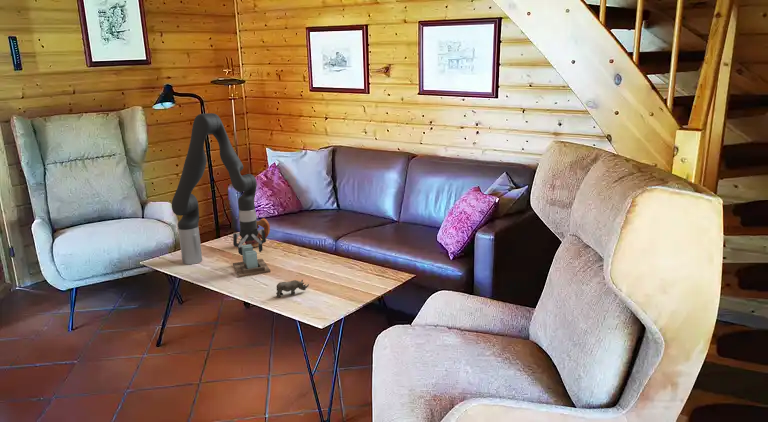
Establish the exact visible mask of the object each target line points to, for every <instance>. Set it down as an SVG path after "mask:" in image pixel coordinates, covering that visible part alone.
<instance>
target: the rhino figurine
mask: <svg viewBox="0 0 768 422" xmlns="http://www.w3.org/2000/svg"><path fill="white" fill-rule="evenodd" d="M303 281H304V279H301V281H299V280H296V279H294V280H291V281H281V282H278V283H277V284H276V293H275V294H276V296H275V297H276V298H281V296H283V295H284V292H286V293H287V292H290V295H291V296H292V297H293V296H295V294H296V291H297V289H299V290H301V291H306V289H307V288H309V285H310V284H305V282H303ZM283 291H284V292H283Z"/></svg>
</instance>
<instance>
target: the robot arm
mask: <svg viewBox="0 0 768 422" xmlns="http://www.w3.org/2000/svg"><path fill="white" fill-rule="evenodd" d="M208 135H213V137H214V138H215V140H216V142H217V143H218V148H219V157H220V160H221V162H222V163H223V164H222V165H224V167H225V168H226V170H227V172H228V175H229V176H228V177H229V179H230V182H231V183H230V184H231V185H232V188H233V189H234V190H235V191H237V192H239V193H242V195H240V196H239V198H238V199H237V200H238V201H237V205H238V221H239V232H233V233H232V244H233V246H234V247H235V248H236V247H237V250H238V254H239V255H240V256H242V247H241V246H243V244H245V241H246V242H247V241H253V240H256V241H257V242H258V243H259V244H258V246H257V247H258V252H259V253H262V251H263V244H265V243H267V238H265V231H264V228H260V230H259V229H258V230H257V221H258V220H257V212H256V206H255V197H256V191H257V185H258V184H257V179H256V177H255V176H254V175H253V174H251V173H248V174H247V173H246V174H243V175H242V174H241V172H242V171H243V169H244V165H243V164H244V163H242V160H241V159H240V158H239V155H238V154H237V153H236V151H235V150H234V147H233V146H232V143H231V141H230V138H229V136H228V133H227V131H226V129H225V126H224V124H223V122H222V120H221V118H220V116H219V115H217V114H216V113H212V112H211V113H210V112H208V113H199V114H198V115H196V116H195V118H194V120H193V123H192V129H191V135H190V141H189V145H188V148H187V154H186V156H185V160H184V163H183V166H182V172H181V176H180V179H179V182H178V185H177V188H176V191H175V193H174V195H173V197H172V201H171V211H172V212H173V214H175V216H181V218H180V220H179V221H178V223H177V229H178V237H179V238H178V239H179V244H180V245H179V246H180V253H181V259H182V260H181V261H182V264H184V265H195V264H198V263H201V262H202V261H203V254H202V246H201V238H200V237H201V236H200V230H199V229H200V228H199V221H200V208H199V201H198V199H197V196H195V195H194V194H193V193H192V192H193V191H194V189H195V187H196V186H197V184H199V182H200V181H201V179H202V178H203V176H204V173H205V169H206V166H207V155H206V151H205V148H204V147H205V141H206V139H207V136H208ZM258 233H260V234H261V235H262V239H261V241H260V240H259V239H258V238H257V235H258ZM239 236H240V240H239V241H238V238H239Z"/></svg>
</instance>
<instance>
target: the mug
mask: <svg viewBox="0 0 768 422" xmlns="http://www.w3.org/2000/svg"><path fill="white" fill-rule="evenodd" d="M260 227H262V229H263V230H264V231H265V238H266V239H267V238H268V236H269V235H270V231H271V225H270V223H269V221H268V220H267V219H266V218H264V217H263V218H261V219H260V220H257V230H259V228H260ZM257 238H258V239H259V240H260V241H261V240H262V235H261V234H260V233H258V235H257ZM250 244H251V245H252V246H253V248H256V247H259V246H258V244H259V243H258V242H257V241H256V240H253V241H247V242H246V241H245V242H244V245H250Z"/></svg>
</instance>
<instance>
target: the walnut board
mask: <svg viewBox="0 0 768 422" xmlns="http://www.w3.org/2000/svg"><path fill="white" fill-rule="evenodd" d="M241 247H242V255H241V256H242V261H237V262H232V266H233V268H234V270H235V272H236V274H237V276H238V278H244V277H245V278H246V277H250V276H257V275H261V274H268V273H271V269H270V268H269V266H268V265H267V263H266V262H265V260H264V259H263V258H257V261H258V267H257V268H251V269H247V267H246V257H245V252H246V251H253V250H254V247H253V246H252V245H251V244H250V245H246V244H244V245H243V244H242V246H241Z"/></svg>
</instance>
